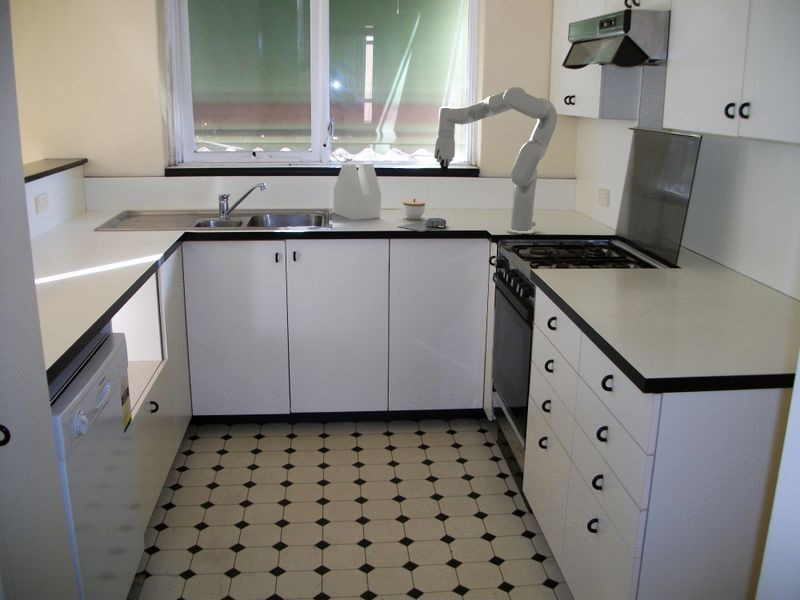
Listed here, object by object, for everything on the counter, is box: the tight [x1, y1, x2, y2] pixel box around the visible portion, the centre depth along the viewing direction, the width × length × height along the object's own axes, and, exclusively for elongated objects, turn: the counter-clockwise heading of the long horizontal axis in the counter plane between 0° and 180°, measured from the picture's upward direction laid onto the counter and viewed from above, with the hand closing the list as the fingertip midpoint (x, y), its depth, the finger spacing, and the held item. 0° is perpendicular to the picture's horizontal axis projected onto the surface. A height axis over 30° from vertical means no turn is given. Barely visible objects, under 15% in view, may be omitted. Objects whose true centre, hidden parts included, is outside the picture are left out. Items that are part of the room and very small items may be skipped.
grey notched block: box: [332, 162, 382, 221], centre depth 393 cm, size 19×15×25 cm
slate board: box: [397, 221, 441, 233], centre depth 374 cm, size 17×14×1 cm
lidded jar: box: [402, 198, 426, 220], centre depth 394 cm, size 11×11×9 cm
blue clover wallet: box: [425, 217, 447, 229], centre depth 375 cm, size 9×3×11 cm
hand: (443, 174), depth 379 cm, fingers closed
